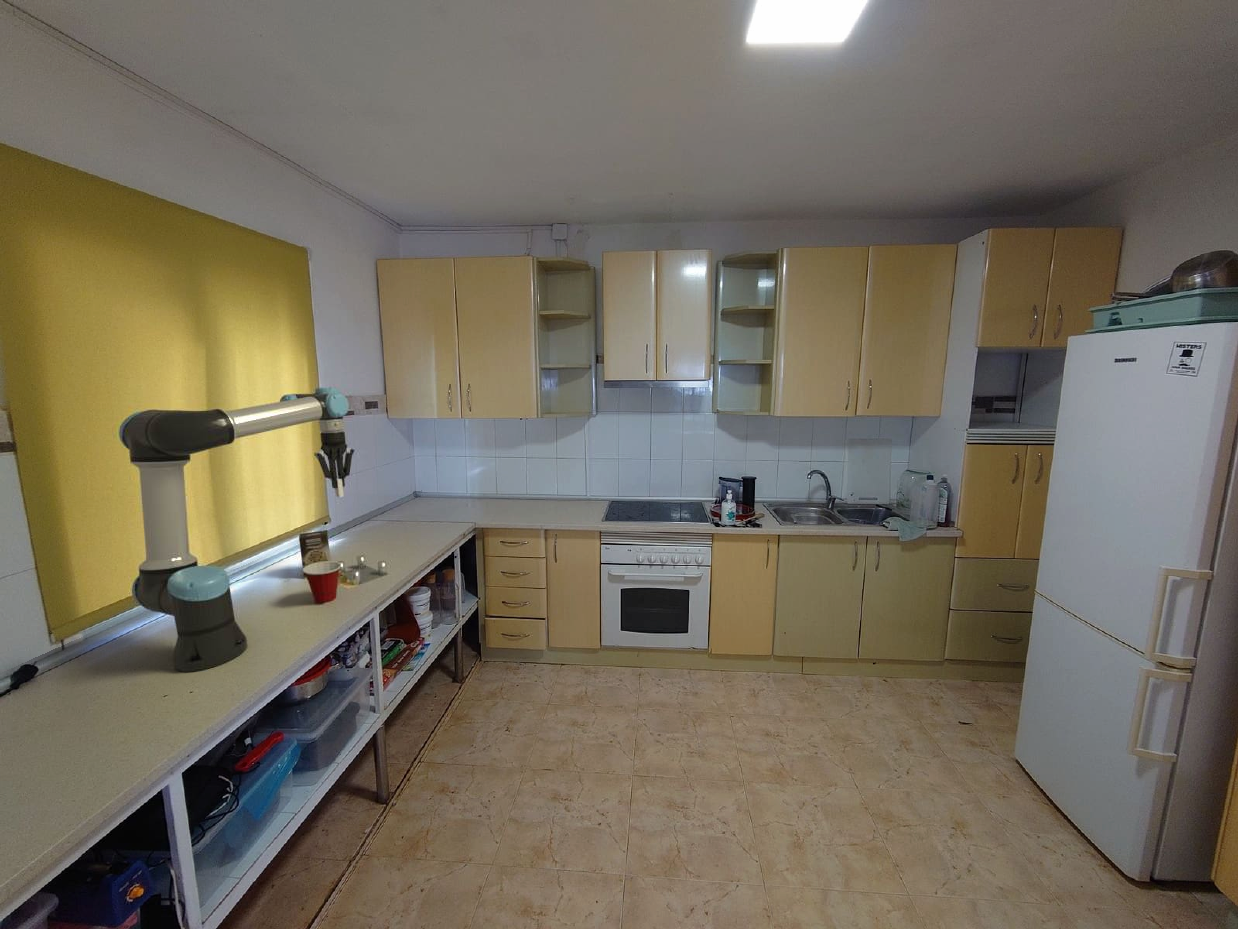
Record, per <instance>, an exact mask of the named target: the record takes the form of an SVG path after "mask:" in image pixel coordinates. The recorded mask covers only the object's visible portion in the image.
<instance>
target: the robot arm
mask: <svg viewBox="0 0 1238 929" xmlns="http://www.w3.org/2000/svg"><path fill="white" fill-rule="evenodd" d="M314 392H315V393H290V394H284V395H282V396H281V397H280V400H279V401H278V402H272V403H266V404H260V405H254V406H248V407H243V408H237V409H231V410H226V411H225V410H223V409H220V408H215V409H207V410H179V409H175V410H174V409H172V410H169V409H156V408H155V409H146V410H140V411H137V412H134V413H132V414H131V415H129V416H127V418H125V419H124V420H123V421H122V422H121V425H120V426H119V428H118V429H119V431H118V435H119V436H118V438H119V440H120V442H121V443H122V445H123V446H124V447H125V448H126V449H127V450H128V451H129V452H128V453H129V460H130V464H132V465H133V466H135V467H137V468H138V471H139V481H140V482H139V483H140V496H141V509H142V520H143V532H144V544H145V556H146V557H145V560H144V561H143V562H142V563H141V564H139V565H138V575H137V577H136V578H135V579H134V581H133V582H132V586H131V595H132V597H133V599H134V601H135V602H136V603H137V604H138V606H141V607H143V608H144V609H146V610H149V611H151V612H153V613H154V612H155V613H161V614H164V615H167V616H168V615H169V616H172V617H173V618H174V623H175V624H174V625H175V628H176V629H175V630H176V633H177V639H176V642H175V646H174V647H175V648H174V651H173V656H172V664H173V668H174V670H176V671H178V672H183V673H184V672H185V673H186V672H187V673H188V672H189V673H190V672H198V671H203V670H207V669H210V668H214V667H217V666H221V665H223V664H225V663H227V662H229V661H231V660H233V659H235V658H237V657H239V656H240V655H242V654H243V653H244V652H245V651H246V650H247V648H248V647H249V646H248V644H249V643H248V640H247V636H246V634H245V633H244V632H243V630H242V629H241V627H240V625H239V624H238V623H237V622H236V619H235V611H234V606H233V599H232V594H231V593H232V592H231V588H230V584H231V583H230V579H229V577H228V573H227V571H226V570H225V569H224V568H222V567H220V566H218V565H210V564H209V565H199V563H198V558H197V557H196V556H194V555H193V554H191V553H190V542H189V541H190V540H189V528H188V526H189V525H188V512H187V500H186V495H187V494H186V483H185V482H186V480H185V470H184V467H185V466H186V465H187V464H188V463H190V462H191V455H193V454H197V453H200V452H205V451H207V450H211V449H216V448H219V447H223V446H227V445H230V444H233V443H234V442H235V440H236V439H240V438H244V437H249V436H253V435H256V434H257V435H258V434H262V433H266V432H271V431H275V430H279V429H284V428H288V427H293V426H295V425H301V424H305V423H310V422H314V421H318V425H319V426H318V427H319V431H320V434H319V435H320V443H321V446H320V450H319V451H317V452H314V454H313V456H315V458H316V459H317V460H318V462H319V465H320V468H321V470H322V472H323V475H324V478H326V479H330V481H331V486H332V489H334V491H335V497H337V498H343V497H344V487H345V486H346V483H345V479H346V477H348V476H350V474H351V465H352V458H353V455H354V452H355V449H353V448H350V447H349V446H348V444H347V443H346V433H345V431H344V430H345V424H344V416H345V415H347V413H348V412H349V408H350V404H349V400H348V399H347V398H346V397H345V395H343V394H341V391H340V389H339V388H338V387H316V388H315V390H314ZM344 454H345V456H344ZM325 456H326V457H327V461H328V464H327V461H326V459H325ZM328 465H329V466H328Z"/></svg>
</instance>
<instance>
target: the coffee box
mask: <svg viewBox="0 0 1238 929" xmlns="http://www.w3.org/2000/svg"><path fill="white" fill-rule="evenodd" d="M328 533H329V532H328V529H325V530H318V531H311V532H305V533H304V532H303V533H299V537H298V540H299V548H300V549H299V550H300V556H301V563H302V564H301V565H302V569H303V568H304V567H306V566H308V565H310V564H313V563H317V562H323V561H332V559H331V551H330V543H329V534H328ZM302 573H303V579H304V580H307V577H306V575H305V573H304V572H303V571H302Z"/></svg>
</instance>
